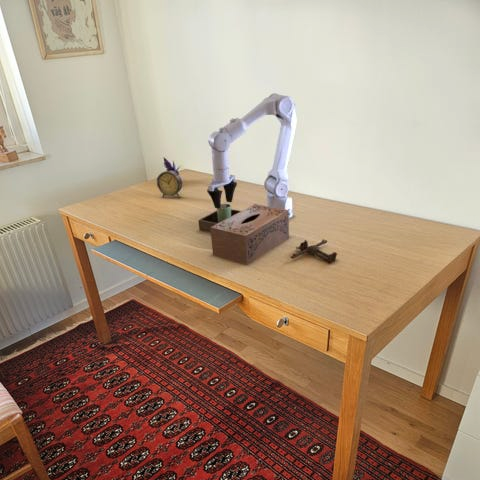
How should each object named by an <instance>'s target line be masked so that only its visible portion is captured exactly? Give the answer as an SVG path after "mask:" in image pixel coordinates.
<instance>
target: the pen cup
mask: <svg viewBox="0 0 480 480" xmlns="http://www.w3.org/2000/svg"><path fill="white" fill-rule="evenodd" d="M231 209H232V205H231V204H230V203H221V207H220V209H218V208H216V210H217V216H218V223H220V222H222V221H223V220H225V219H227V218H229V217H231Z"/></svg>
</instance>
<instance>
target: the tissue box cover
mask: <svg viewBox="0 0 480 480" xmlns="http://www.w3.org/2000/svg"><path fill="white" fill-rule="evenodd" d="M240 211H241V212H239V213H237V214H235V215H233V216H231V217H229V218H227V219H225V220H223V221H222V222H220V223H218V224H216V225H214V226H212V227H210V229H211V233H210V239H211V250H212V256H214V257H218V258H222V259H225V260H229V261H232V262H235V263H238V264H239V263H240V264H243V265H245V266H246V265H249V264H251V263H252V262H254V261H255V260H257V259H258V258H260V257H261V256H263V255H265V254H266V253H268V252H269V251H270V250H272V249H274V248H275V247H277V246H278V245H279V244H281V243H282V242H284V241H285V240H287V239H289V237H290V218H289V210H284V209H278V208H273V207H268V206H267V205H262V204H257V203H255V204H253V205H250V206H248V207H247V208H245V209H243V210H240Z"/></svg>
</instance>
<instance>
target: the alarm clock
mask: <svg viewBox="0 0 480 480" xmlns="http://www.w3.org/2000/svg"><path fill="white" fill-rule="evenodd" d="M165 162H169V163H170V167H171V166H172V164H171V162H170V161H169V160H168V161H165ZM165 162H164V161H163V166H164V167H165V169H167V170H165V171H162V172H160V173H159V174H160V175H159V174H158V176H157V178H158V179H157V178H156V186H157V188H158V190H159V192H160V193H161V194H162V196H161V197H162V198H164V197H165V196H166V197H174V196H177V197H178V198H181V196H180V194H179V193H180V192H181V190H182V188H183V180H182V177H181V176H180V174H179V175H178V174H177V173H176V172H174V171H172V170H169V168H170V167H169V168H168V167H167V168H166V166H165Z"/></svg>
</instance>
